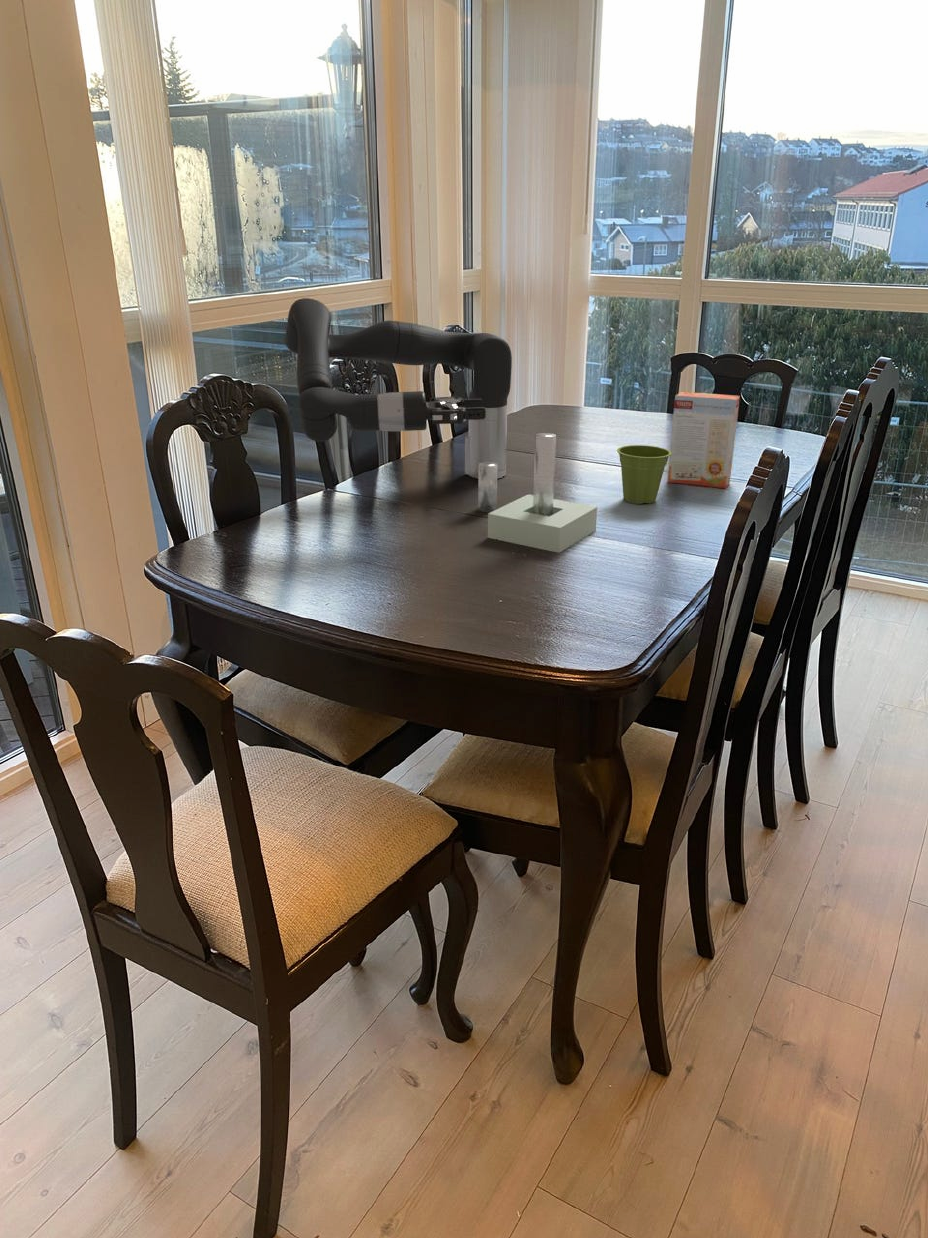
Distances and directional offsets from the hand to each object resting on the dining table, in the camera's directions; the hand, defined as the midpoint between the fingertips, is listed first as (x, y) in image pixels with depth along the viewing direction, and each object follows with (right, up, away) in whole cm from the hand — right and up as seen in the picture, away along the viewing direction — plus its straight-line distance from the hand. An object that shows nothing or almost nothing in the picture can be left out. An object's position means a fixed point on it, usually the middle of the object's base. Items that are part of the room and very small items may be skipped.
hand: (483, 408), depth 179 cm
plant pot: (+36, -15, +25) cm, 46 cm away
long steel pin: (+12, -25, +3) cm, 27 cm away
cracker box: (+52, -9, +38) cm, 65 cm away
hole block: (+12, -25, +3) cm, 27 cm away
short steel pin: (+1, -18, +18) cm, 25 cm away
